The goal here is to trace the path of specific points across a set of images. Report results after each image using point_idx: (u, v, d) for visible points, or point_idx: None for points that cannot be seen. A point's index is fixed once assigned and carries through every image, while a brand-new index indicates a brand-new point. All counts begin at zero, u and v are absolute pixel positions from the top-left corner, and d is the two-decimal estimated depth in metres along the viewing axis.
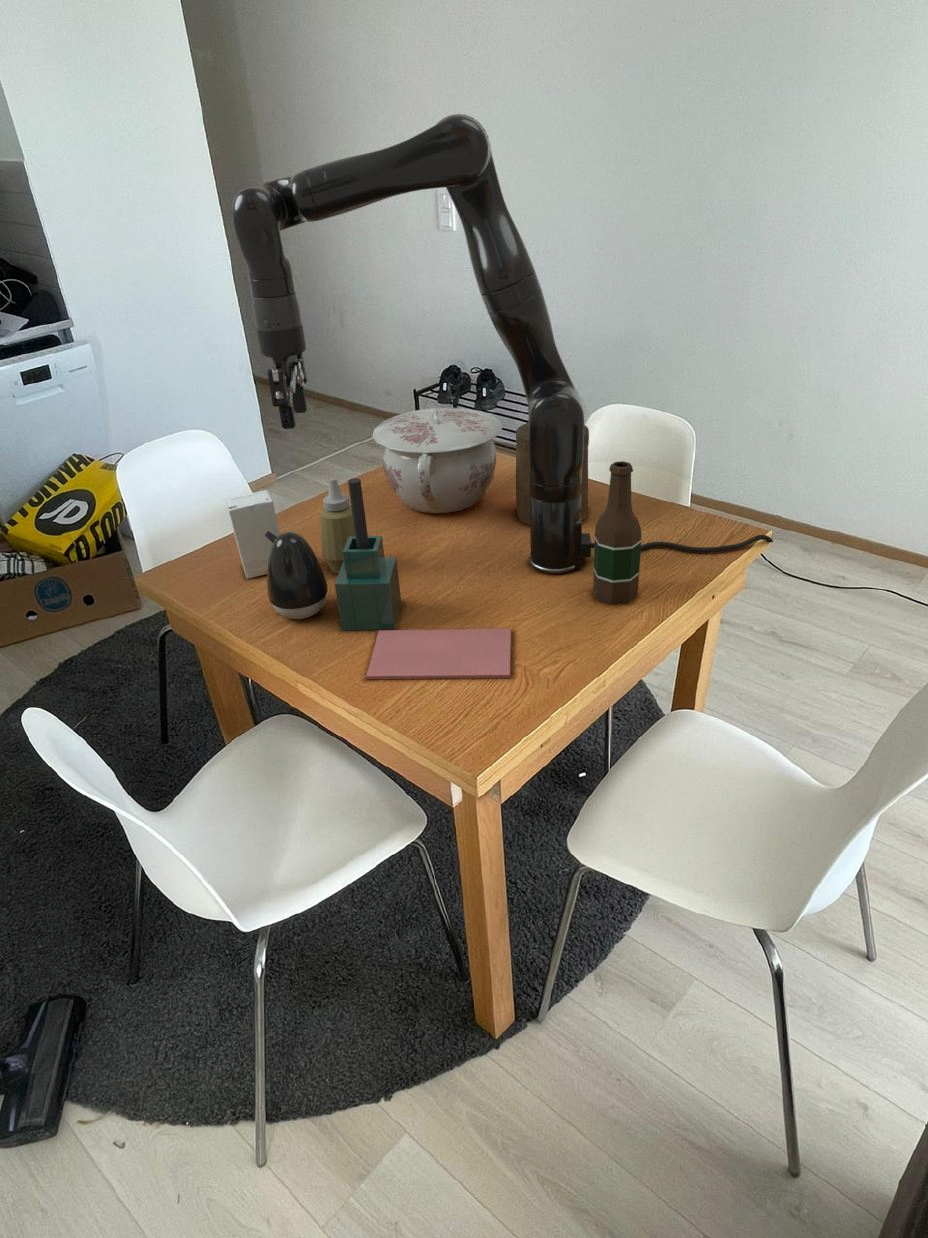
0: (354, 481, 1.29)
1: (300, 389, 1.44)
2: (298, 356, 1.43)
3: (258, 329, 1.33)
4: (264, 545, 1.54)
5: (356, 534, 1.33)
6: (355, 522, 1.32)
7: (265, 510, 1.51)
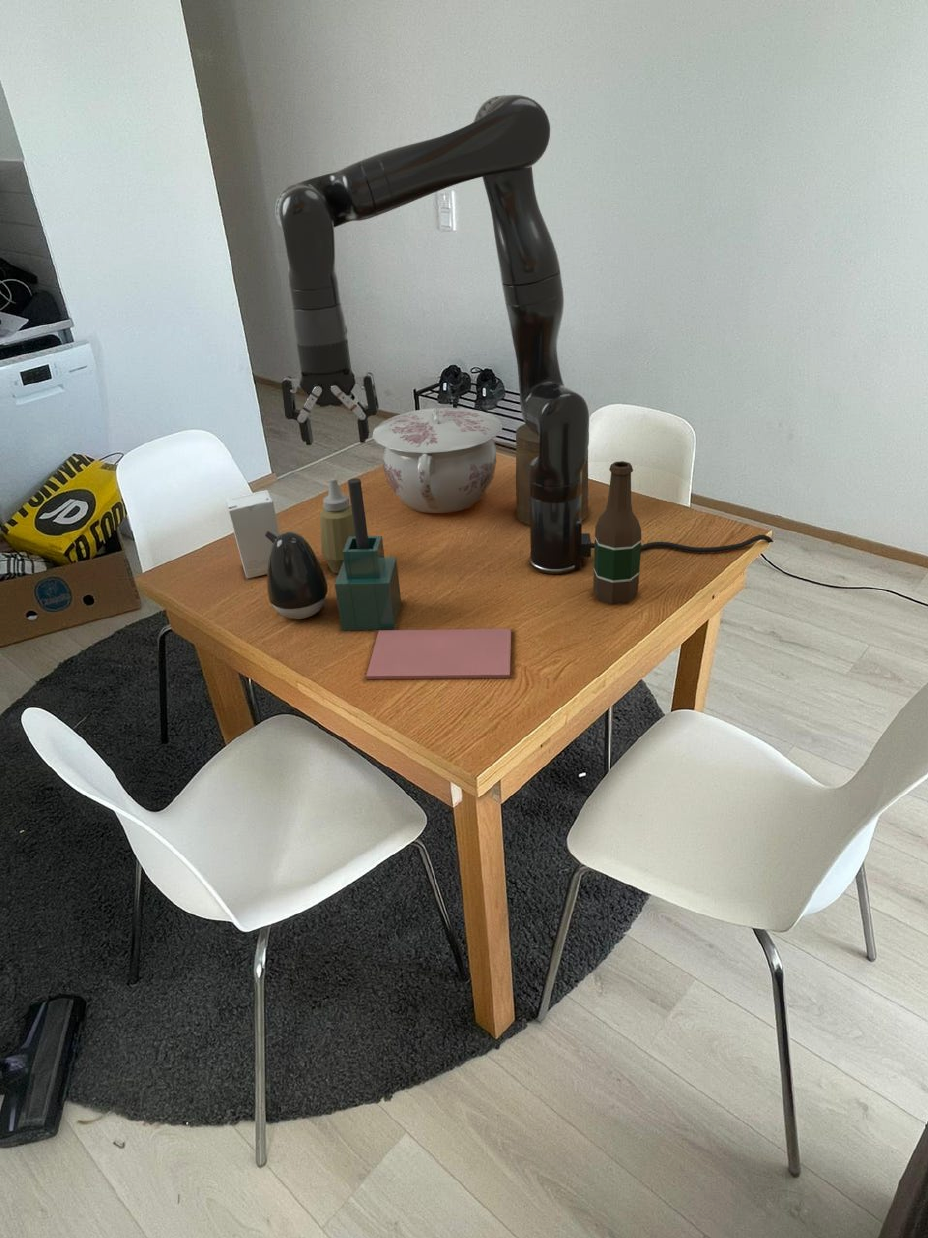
0: (354, 481, 1.29)
1: None
2: (364, 382, 1.24)
3: None
4: (264, 545, 1.54)
5: (356, 534, 1.33)
6: (355, 522, 1.32)
7: (265, 510, 1.51)
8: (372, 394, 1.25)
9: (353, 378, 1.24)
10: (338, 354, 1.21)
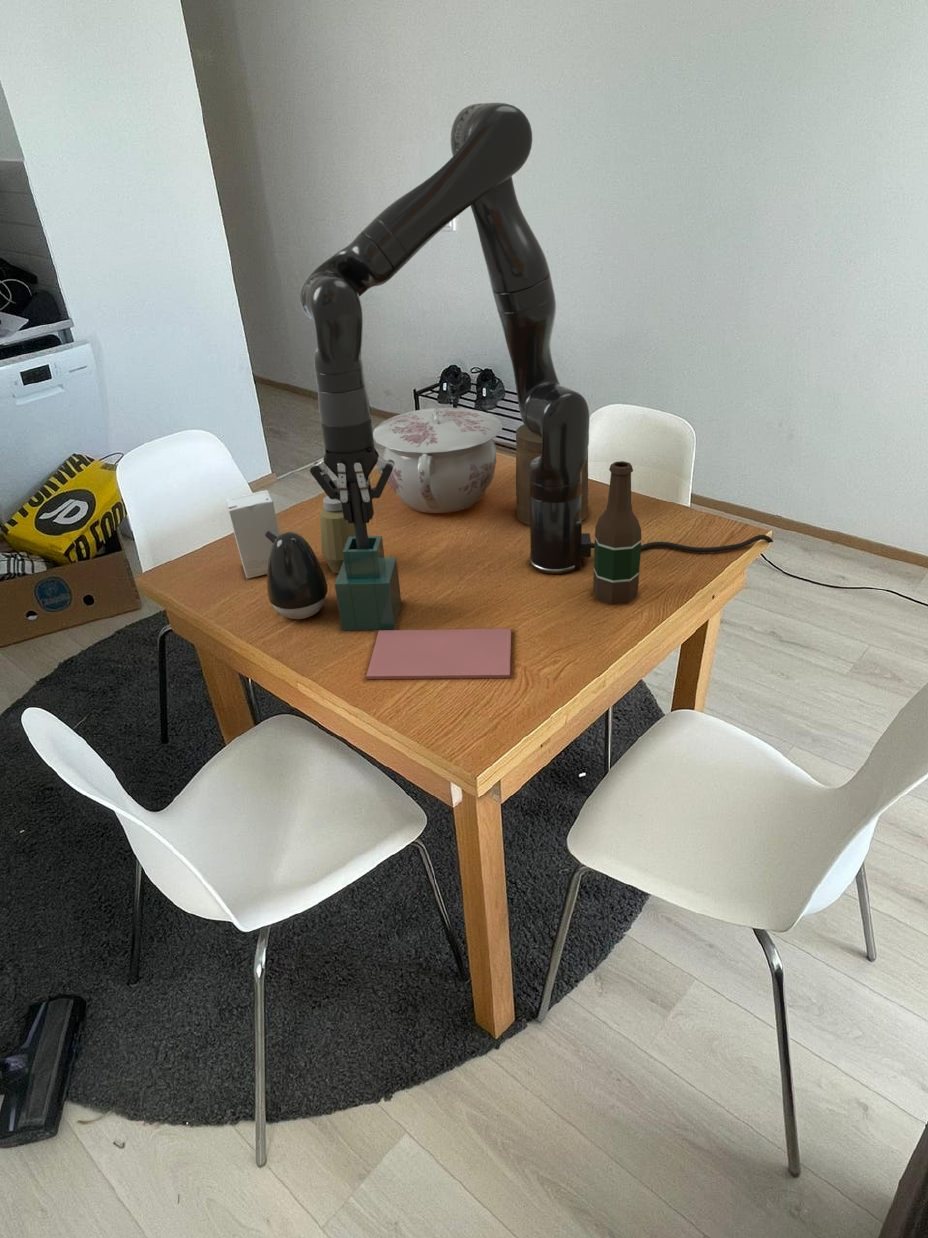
0: None
1: None
2: (384, 468, 1.27)
3: None
4: (264, 545, 1.54)
5: (356, 534, 1.33)
6: (355, 522, 1.32)
7: (265, 510, 1.51)
8: (385, 481, 1.28)
9: (376, 455, 1.26)
10: (361, 434, 1.22)
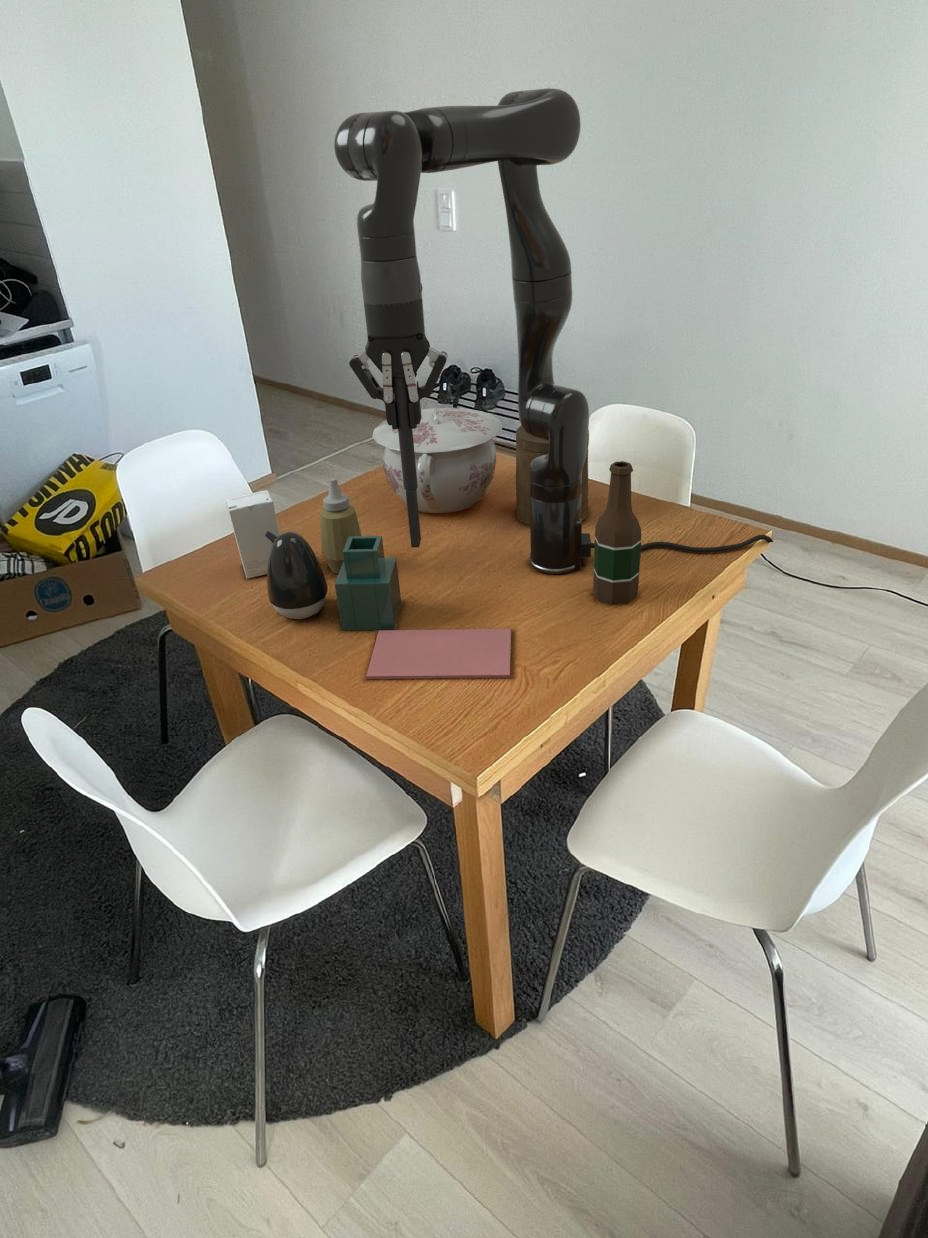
0: (400, 376, 1.10)
1: (410, 399, 1.11)
2: (436, 360, 1.08)
3: None
4: (264, 545, 1.54)
5: (401, 442, 1.15)
6: (400, 428, 1.13)
7: (265, 510, 1.51)
8: (437, 376, 1.09)
9: (427, 344, 1.07)
10: (412, 315, 1.04)
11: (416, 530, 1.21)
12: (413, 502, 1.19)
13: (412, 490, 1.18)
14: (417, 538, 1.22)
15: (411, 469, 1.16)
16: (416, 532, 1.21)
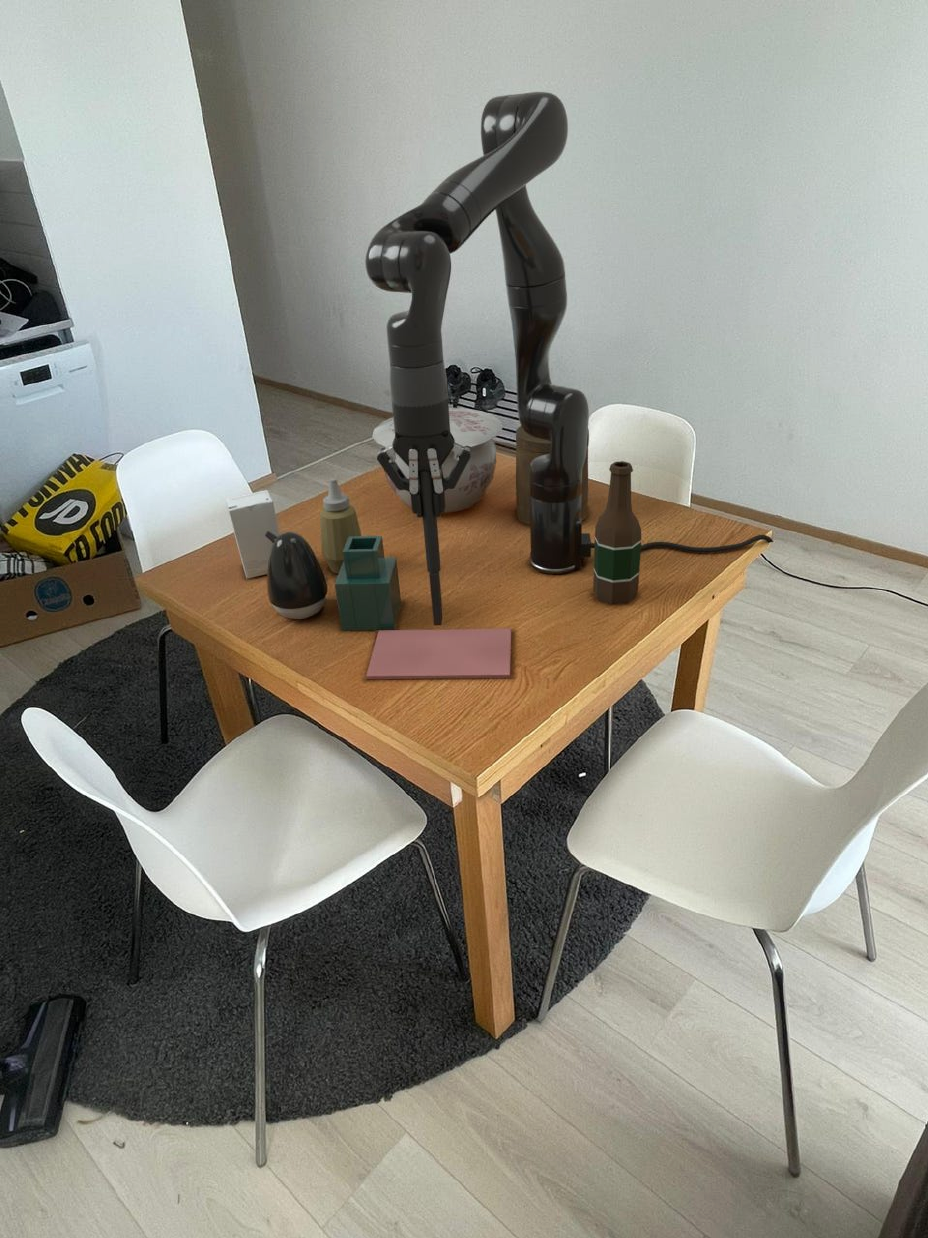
0: (425, 469, 1.14)
1: (435, 490, 1.16)
2: (460, 455, 1.12)
3: None
4: (264, 545, 1.54)
5: (425, 530, 1.19)
6: (425, 516, 1.18)
7: (265, 510, 1.51)
8: (461, 470, 1.13)
9: (452, 440, 1.12)
10: (438, 415, 1.08)
11: (439, 610, 1.25)
12: (436, 584, 1.23)
13: (435, 573, 1.22)
14: (439, 617, 1.26)
15: (435, 554, 1.21)
16: (439, 612, 1.25)
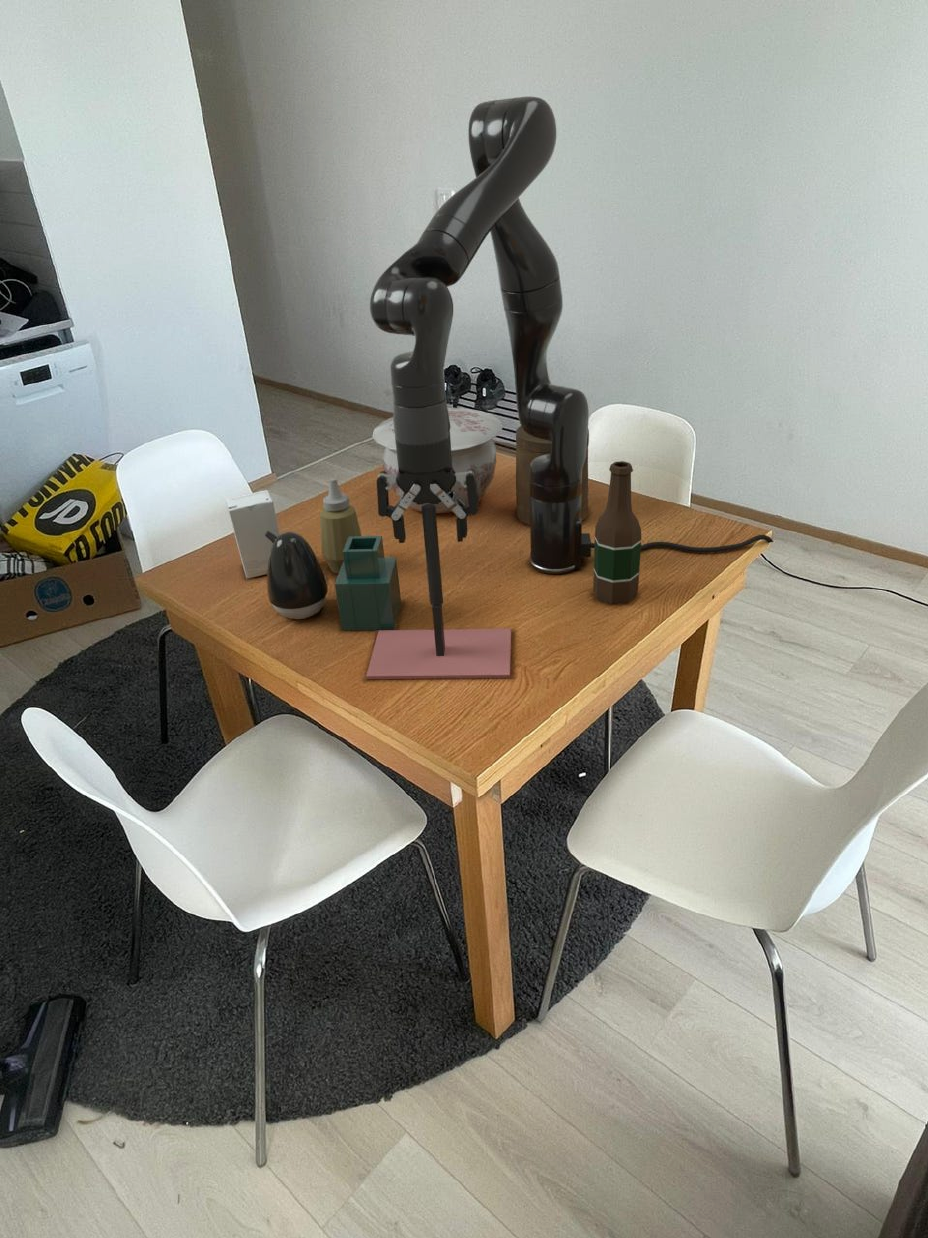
0: (428, 507, 1.17)
1: None
2: (466, 481, 1.14)
3: None
4: (264, 545, 1.54)
5: (428, 564, 1.22)
6: (428, 551, 1.20)
7: (265, 510, 1.51)
8: (474, 493, 1.15)
9: (454, 476, 1.14)
10: (441, 453, 1.11)
11: (441, 641, 1.28)
12: (439, 616, 1.26)
13: (438, 606, 1.25)
14: (442, 648, 1.29)
15: (437, 587, 1.24)
16: (441, 643, 1.28)
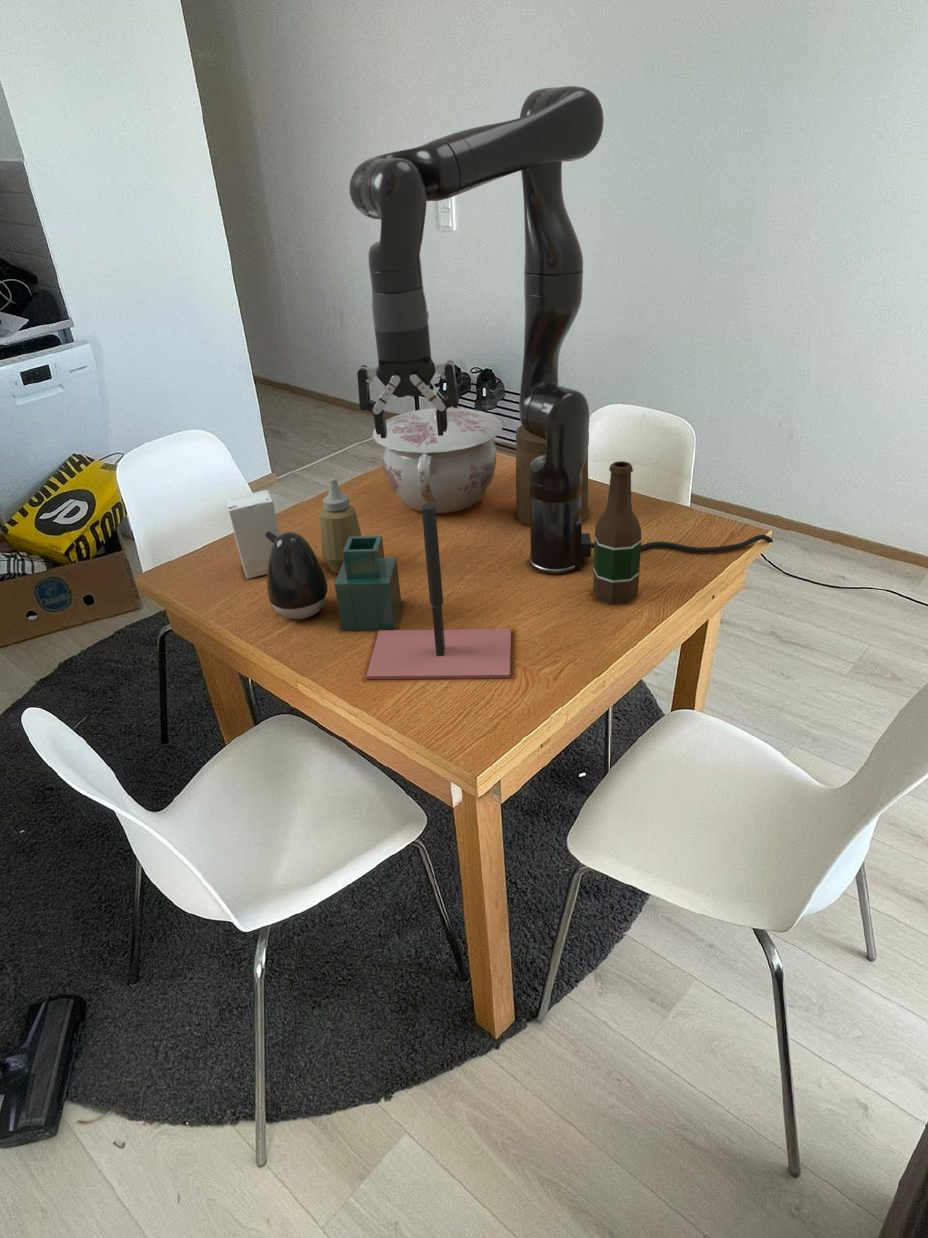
0: (428, 507, 1.17)
1: None
2: (444, 371, 1.17)
3: None
4: (264, 545, 1.54)
5: (428, 564, 1.22)
6: (428, 551, 1.20)
7: (265, 510, 1.51)
8: (453, 384, 1.17)
9: (433, 367, 1.17)
10: (420, 341, 1.13)
11: (441, 641, 1.28)
12: (439, 616, 1.26)
13: (438, 606, 1.25)
14: (442, 648, 1.29)
15: (437, 587, 1.24)
16: (441, 643, 1.28)
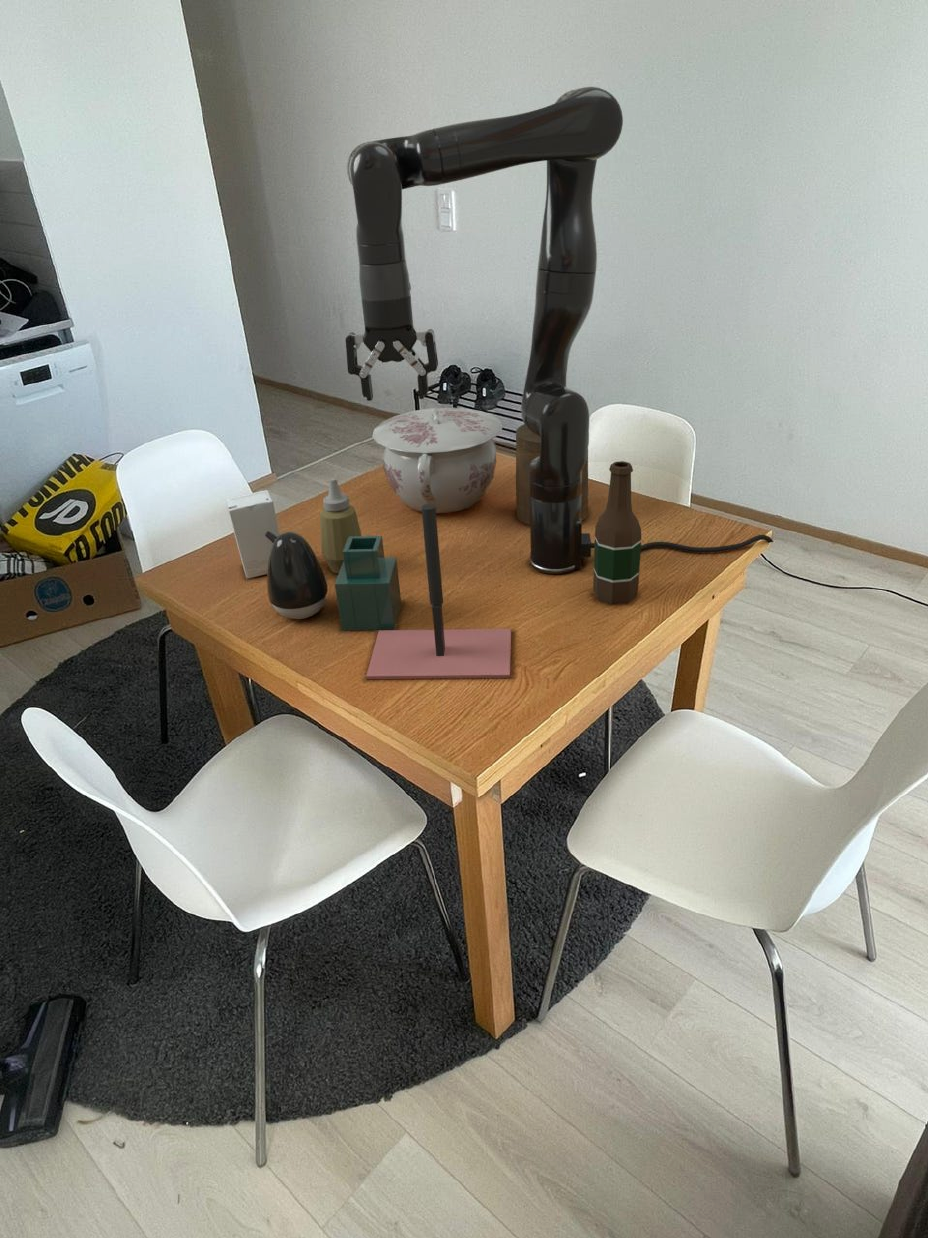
0: (428, 507, 1.17)
1: None
2: (425, 339, 1.28)
3: None
4: (264, 545, 1.54)
5: (428, 564, 1.22)
6: (428, 551, 1.20)
7: (265, 510, 1.51)
8: (433, 350, 1.28)
9: (415, 334, 1.28)
10: (402, 309, 1.24)
11: (441, 641, 1.28)
12: (439, 616, 1.26)
13: (438, 606, 1.25)
14: (442, 648, 1.29)
15: (437, 587, 1.24)
16: (441, 643, 1.28)
